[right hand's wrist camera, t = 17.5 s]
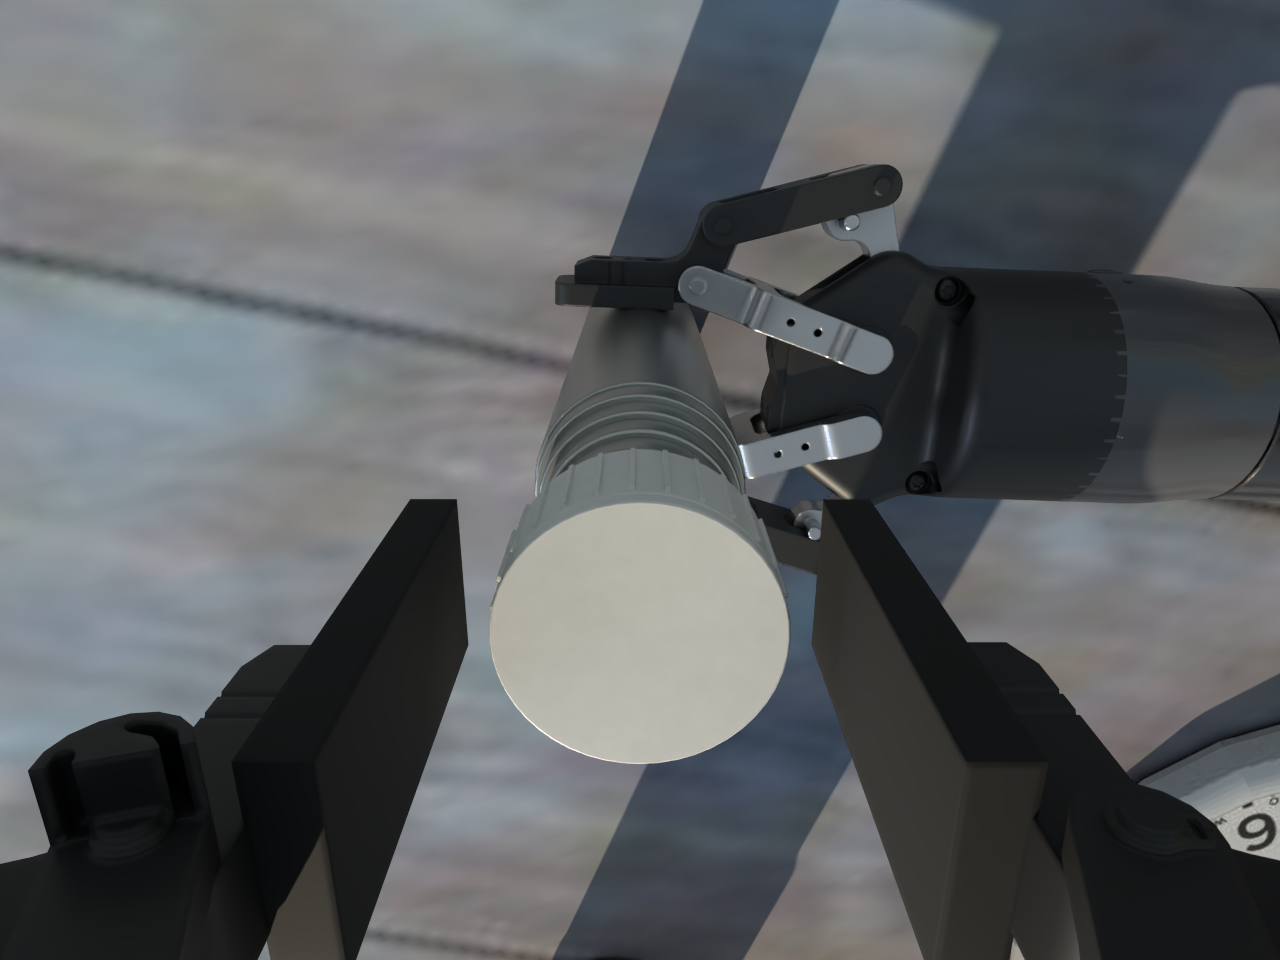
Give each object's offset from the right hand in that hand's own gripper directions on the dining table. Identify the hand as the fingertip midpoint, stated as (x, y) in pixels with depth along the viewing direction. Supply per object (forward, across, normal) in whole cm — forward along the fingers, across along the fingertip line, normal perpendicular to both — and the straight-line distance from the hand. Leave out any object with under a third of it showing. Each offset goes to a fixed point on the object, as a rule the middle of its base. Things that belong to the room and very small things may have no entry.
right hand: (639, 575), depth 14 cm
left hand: (+15, -3, 0) cm, 15 cm away
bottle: (+22, 0, 0) cm, 22 cm away
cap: (-2, 0, 0) cm, 2 cm away
